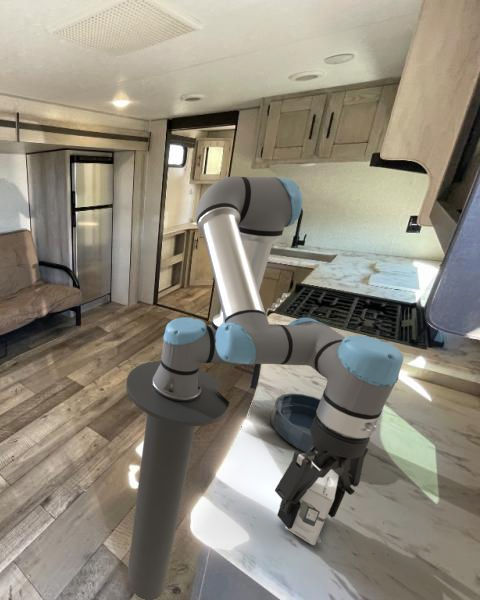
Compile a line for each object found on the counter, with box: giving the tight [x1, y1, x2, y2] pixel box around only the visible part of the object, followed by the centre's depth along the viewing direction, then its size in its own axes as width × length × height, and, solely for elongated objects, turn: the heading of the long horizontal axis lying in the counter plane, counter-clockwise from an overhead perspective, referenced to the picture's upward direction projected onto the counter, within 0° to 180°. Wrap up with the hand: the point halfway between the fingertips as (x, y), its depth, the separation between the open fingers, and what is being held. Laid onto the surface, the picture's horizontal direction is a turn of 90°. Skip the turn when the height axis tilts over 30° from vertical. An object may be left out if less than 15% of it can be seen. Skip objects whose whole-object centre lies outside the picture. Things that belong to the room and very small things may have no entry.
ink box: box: [285, 462, 339, 546], centre depth 61 cm, size 9×5×12 cm, turn 137°
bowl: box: [270, 392, 321, 453], centre depth 84 cm, size 18×18×6 cm
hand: (305, 515), depth 63 cm, fingers closed on ink box, 9 cm apart
